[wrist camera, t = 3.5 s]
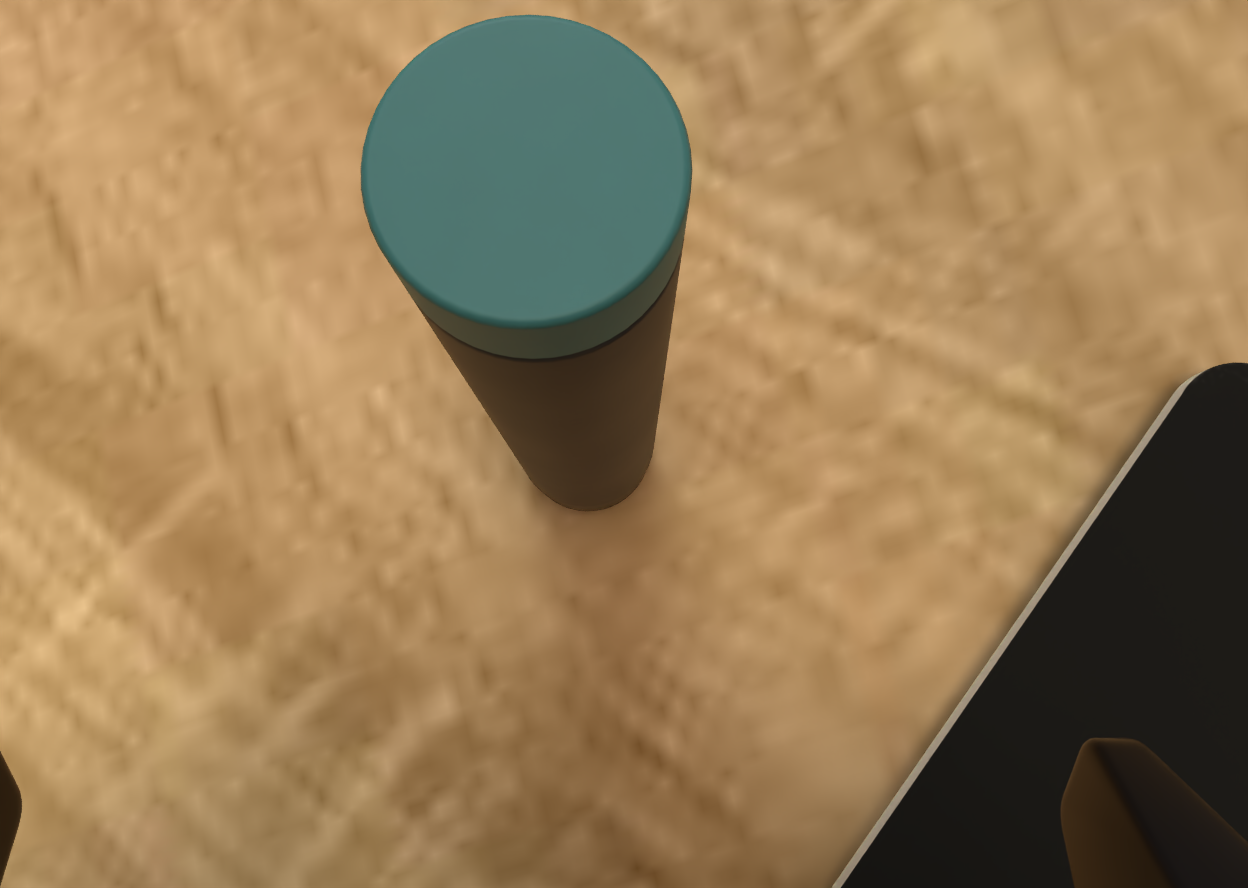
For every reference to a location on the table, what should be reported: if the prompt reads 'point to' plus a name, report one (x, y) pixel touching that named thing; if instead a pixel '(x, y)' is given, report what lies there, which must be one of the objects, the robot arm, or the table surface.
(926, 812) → the tablet
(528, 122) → the teal capped marker
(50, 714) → the table surface
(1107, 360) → the table surface
